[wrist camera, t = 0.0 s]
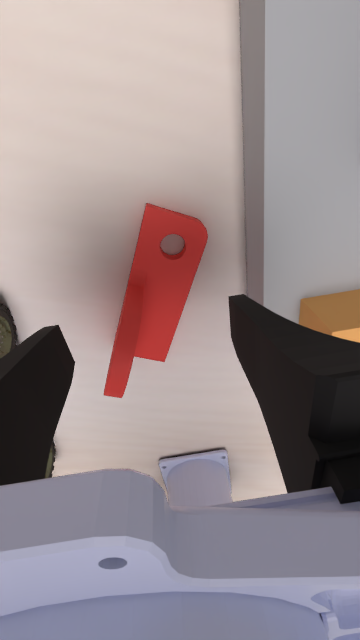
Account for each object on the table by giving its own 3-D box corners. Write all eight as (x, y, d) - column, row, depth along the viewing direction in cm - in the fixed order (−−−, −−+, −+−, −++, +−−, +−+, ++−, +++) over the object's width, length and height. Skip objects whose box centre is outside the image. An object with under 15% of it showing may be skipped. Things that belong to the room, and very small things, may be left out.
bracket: (164, 354, 26) (167, 427, 19) (113, 344, 25) (98, 417, 18) (209, 222, 20) (237, 260, 13) (146, 202, 19) (142, 233, 12)
